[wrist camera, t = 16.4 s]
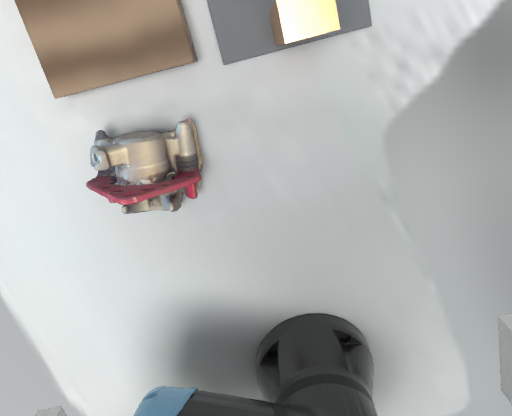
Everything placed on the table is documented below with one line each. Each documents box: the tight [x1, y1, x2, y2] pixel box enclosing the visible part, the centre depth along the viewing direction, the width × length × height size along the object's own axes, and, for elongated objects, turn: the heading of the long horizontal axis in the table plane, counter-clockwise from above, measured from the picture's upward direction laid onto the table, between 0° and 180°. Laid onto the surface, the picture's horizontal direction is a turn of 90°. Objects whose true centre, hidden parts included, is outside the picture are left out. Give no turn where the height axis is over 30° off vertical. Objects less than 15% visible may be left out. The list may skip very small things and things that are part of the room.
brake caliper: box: [86, 119, 203, 214], centre depth 42 cm, size 11×11×12 cm
